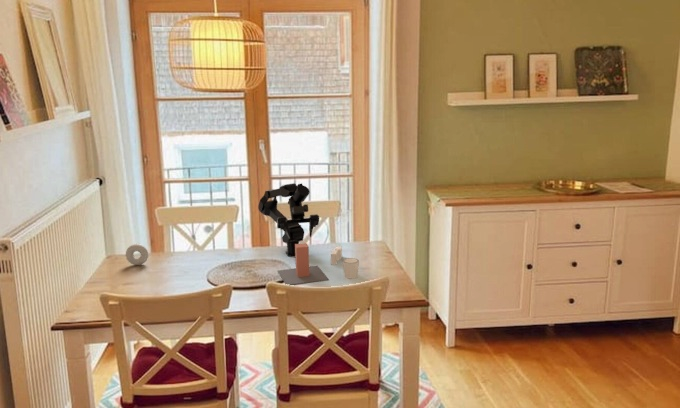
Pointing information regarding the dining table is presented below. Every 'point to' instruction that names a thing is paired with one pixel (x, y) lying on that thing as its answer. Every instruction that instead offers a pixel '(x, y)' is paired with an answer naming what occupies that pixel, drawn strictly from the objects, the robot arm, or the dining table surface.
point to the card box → (302, 260)
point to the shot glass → (351, 268)
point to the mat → (292, 279)
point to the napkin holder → (336, 255)
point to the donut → (133, 259)
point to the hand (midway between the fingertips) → (300, 237)
